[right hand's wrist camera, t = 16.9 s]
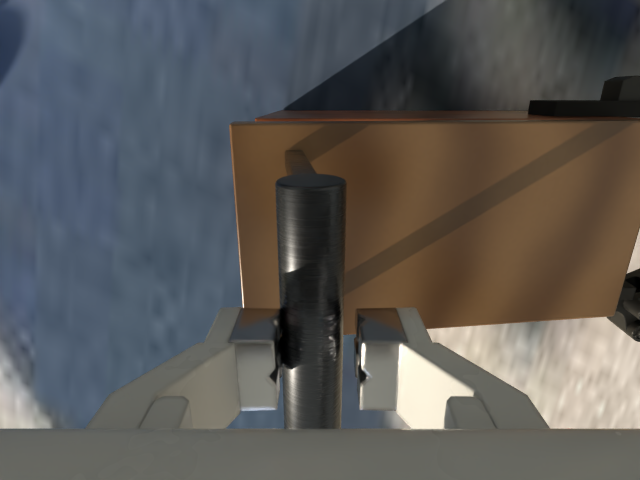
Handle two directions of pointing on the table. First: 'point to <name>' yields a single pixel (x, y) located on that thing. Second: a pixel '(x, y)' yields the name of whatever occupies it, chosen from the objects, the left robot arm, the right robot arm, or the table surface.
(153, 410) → the right robot arm
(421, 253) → the lid
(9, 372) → the table surface
